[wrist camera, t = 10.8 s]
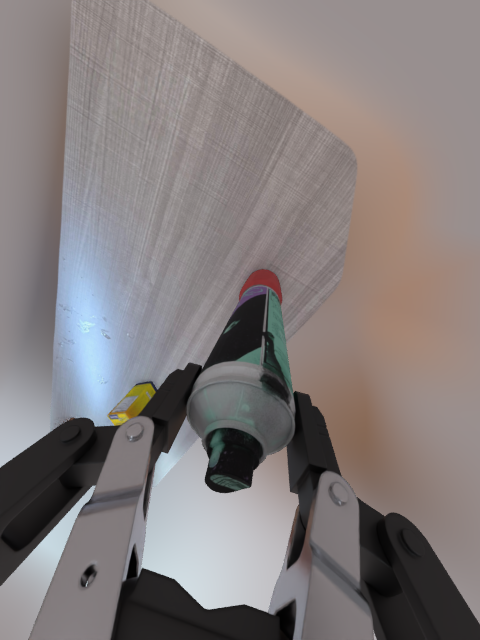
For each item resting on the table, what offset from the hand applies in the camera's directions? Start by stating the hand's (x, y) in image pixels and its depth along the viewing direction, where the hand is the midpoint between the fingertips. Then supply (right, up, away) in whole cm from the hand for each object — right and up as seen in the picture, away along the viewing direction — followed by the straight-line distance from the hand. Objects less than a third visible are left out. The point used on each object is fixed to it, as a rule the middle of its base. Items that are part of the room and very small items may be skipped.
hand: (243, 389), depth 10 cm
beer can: (+4, +11, +26) cm, 28 cm away
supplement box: (-28, -17, +44) cm, 55 cm away
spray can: (+3, +6, +14) cm, 16 cm away
